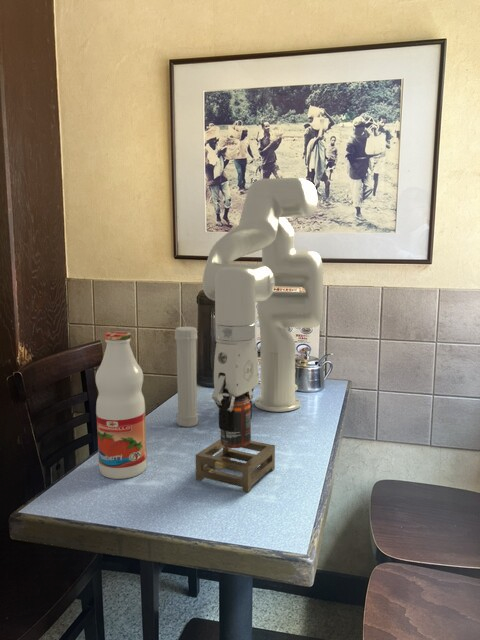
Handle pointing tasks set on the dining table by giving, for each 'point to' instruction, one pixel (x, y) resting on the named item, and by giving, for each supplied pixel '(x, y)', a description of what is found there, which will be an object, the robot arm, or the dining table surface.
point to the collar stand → (235, 464)
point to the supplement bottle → (238, 424)
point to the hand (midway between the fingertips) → (235, 423)
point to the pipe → (186, 375)
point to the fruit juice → (120, 410)
